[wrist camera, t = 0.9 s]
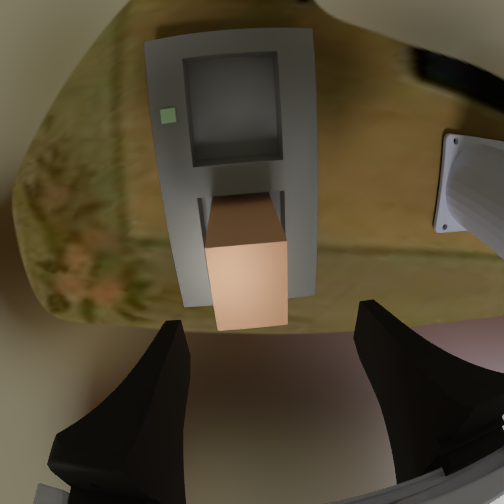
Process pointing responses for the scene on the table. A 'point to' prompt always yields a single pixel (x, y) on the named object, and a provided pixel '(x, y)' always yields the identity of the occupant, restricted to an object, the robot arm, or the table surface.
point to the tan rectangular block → (247, 262)
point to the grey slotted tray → (236, 140)
